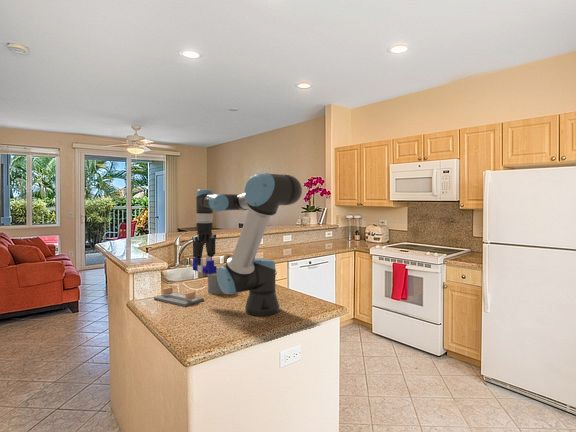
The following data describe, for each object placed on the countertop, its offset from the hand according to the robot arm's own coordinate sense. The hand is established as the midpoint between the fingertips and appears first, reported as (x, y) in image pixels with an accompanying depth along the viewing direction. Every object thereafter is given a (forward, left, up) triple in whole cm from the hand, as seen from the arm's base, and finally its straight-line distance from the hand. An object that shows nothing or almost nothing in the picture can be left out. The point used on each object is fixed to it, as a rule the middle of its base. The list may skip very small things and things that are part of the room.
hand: (204, 270), depth 168 cm
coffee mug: (+10, -20, -16) cm, 27 cm away
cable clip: (0, 0, -1) cm, 1 cm away
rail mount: (+14, +3, -15) cm, 21 cm away
